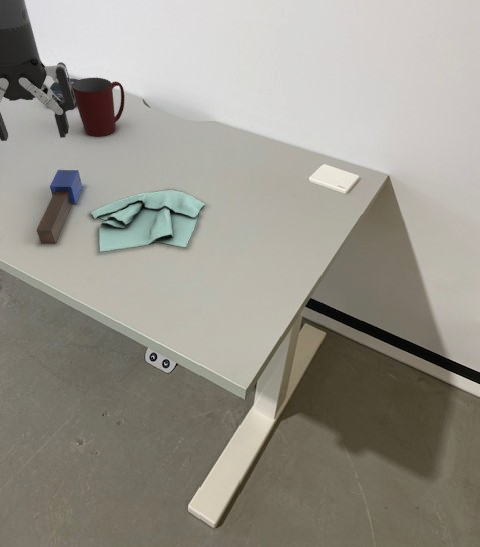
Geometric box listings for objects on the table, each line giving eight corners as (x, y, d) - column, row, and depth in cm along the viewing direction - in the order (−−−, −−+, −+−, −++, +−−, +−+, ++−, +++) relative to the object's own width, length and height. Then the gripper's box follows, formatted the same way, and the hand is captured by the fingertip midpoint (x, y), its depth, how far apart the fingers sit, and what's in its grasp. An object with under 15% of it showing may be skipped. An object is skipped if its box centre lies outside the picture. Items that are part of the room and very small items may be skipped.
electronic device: (84, 112, 115) (88, 83, 124) (76, 93, 110) (81, 65, 119) (49, 116, 114) (56, 88, 123) (40, 98, 110) (48, 69, 119)
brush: (36, 243, 73) (29, 225, 70) (62, 187, 86) (57, 169, 83) (60, 243, 73) (54, 225, 71) (82, 187, 86) (78, 170, 84)
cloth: (215, 201, 85) (215, 190, 83) (170, 270, 70) (169, 260, 68) (125, 180, 89) (123, 170, 87) (64, 242, 74) (60, 231, 72)
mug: (119, 116, 111) (112, 72, 103) (136, 129, 106) (130, 84, 98) (75, 127, 105) (65, 82, 97) (91, 141, 100) (81, 94, 93)
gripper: (58, 11, 58) (83, 124, 69) (-56, 11, 55) (-11, 128, 66) (53, 26, 53) (81, 146, 64) (-73, 27, 50) (-21, 151, 61)
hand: (34, 137), depth 65 cm, fingers open, 8 cm apart
